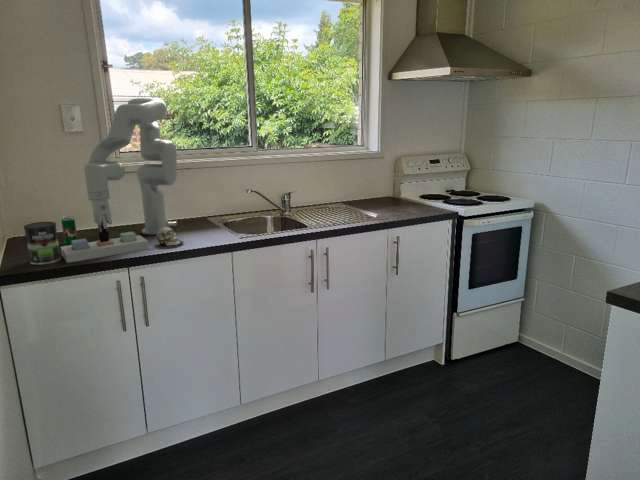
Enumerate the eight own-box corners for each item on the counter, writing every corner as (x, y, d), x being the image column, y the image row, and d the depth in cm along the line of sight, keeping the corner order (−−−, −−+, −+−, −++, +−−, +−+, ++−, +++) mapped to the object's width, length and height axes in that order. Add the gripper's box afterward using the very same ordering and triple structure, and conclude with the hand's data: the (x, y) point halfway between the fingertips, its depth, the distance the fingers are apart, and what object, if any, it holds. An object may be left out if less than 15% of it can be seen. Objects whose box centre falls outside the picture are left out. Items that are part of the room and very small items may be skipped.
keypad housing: (140, 242, 199) (139, 234, 198) (148, 248, 190) (147, 240, 189) (61, 255, 182) (60, 246, 181) (67, 262, 172) (66, 253, 172)
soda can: (75, 242, 200) (71, 215, 197) (80, 244, 197) (76, 216, 194) (62, 244, 196) (58, 217, 193) (68, 246, 193) (63, 218, 190)
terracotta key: (111, 248, 189) (109, 238, 188) (114, 250, 185) (113, 241, 184) (97, 250, 186) (96, 240, 185) (100, 253, 182) (99, 243, 181)
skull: (191, 240, 198) (177, 226, 191) (178, 260, 194) (164, 247, 186) (171, 236, 204) (157, 222, 196) (158, 255, 200) (144, 242, 192)
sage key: (133, 240, 194) (132, 231, 193) (136, 243, 190) (135, 233, 189) (120, 242, 191) (119, 233, 190) (124, 245, 187) (123, 235, 186)
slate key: (86, 248, 183) (85, 238, 182) (89, 251, 180) (87, 241, 178) (72, 250, 180) (71, 240, 179) (75, 253, 177) (73, 243, 176)
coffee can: (63, 261, 174) (57, 225, 170) (31, 266, 168) (24, 229, 165) (59, 255, 182) (53, 220, 178) (28, 259, 176) (22, 223, 173)
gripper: (113, 197, 176) (119, 243, 181) (104, 192, 188) (109, 236, 192) (92, 199, 172) (98, 246, 176) (84, 194, 183) (90, 238, 188)
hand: (104, 241), depth 184 cm, fingers closed
